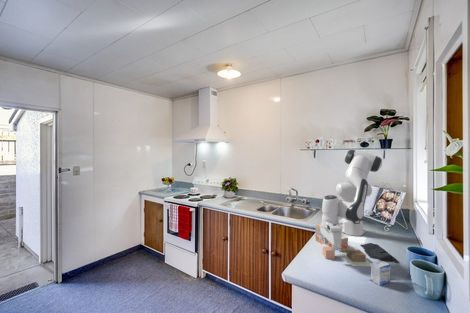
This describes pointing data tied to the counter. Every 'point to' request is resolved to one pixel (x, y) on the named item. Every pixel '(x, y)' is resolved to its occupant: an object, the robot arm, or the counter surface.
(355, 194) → the robot arm
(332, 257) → the top brick
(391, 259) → the dark slate chunk
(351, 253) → the base brick
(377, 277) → the medicine box
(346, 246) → the stack of blocks
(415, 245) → the counter surface
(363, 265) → the build plate
